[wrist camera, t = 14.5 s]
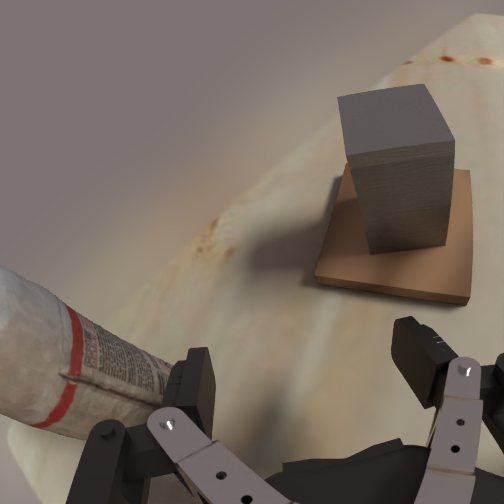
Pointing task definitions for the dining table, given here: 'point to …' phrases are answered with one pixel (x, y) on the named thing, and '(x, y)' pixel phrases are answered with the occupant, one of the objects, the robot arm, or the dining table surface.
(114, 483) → the robot arm
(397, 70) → the dining table surface
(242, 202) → the dining table surface
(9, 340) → the white spray can
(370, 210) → the brushed steel block
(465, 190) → the wooden square base
